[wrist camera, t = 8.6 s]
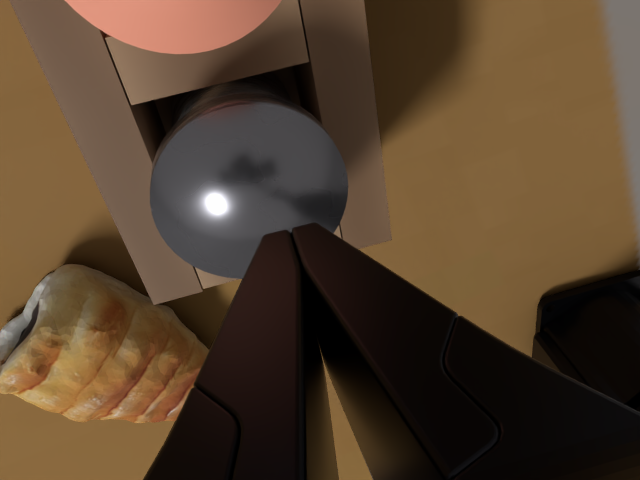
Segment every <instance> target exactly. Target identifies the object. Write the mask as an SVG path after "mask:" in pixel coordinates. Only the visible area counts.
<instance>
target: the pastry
mask: <svg viewBox="0 0 640 480" xmlns="http://www.w3.org/2000/svg"><path fill="white" fill-rule="evenodd" d="M208 352H209V350H208V349H207V347H206V346H205V345H204V344H203V343H201V342H200V341H199V340H198V339H197V337H196V335H195V334H194V333H193V332H192V331H190V330H189V329H188V328H187V327H186V326H185V325H184V324H183V323H182V322H181V321H180V320H179V319H178V317H177V316H176V315H175V313H174V311H173V310H172V309H171V308H169V307H168V306H165V305H159V304H156V305H154V304H153V302H152V300H151V299H150V298H149V297H147V296H145V295H143V294H141V293H139V292H137V291H136V290H134V289H132V288H131V287H129V286H128V285H127V284H126V283H124V282H121V281H119V280H117V279H115V278H113V277H111V276H109V275H106V274H104V273H103V272H101V271H98V270H95V269H92V268H89V267H86V266H85V265H78V264H66V265H63V266H60V267H59V268H58V269H57V270H56V271H55V272H54V273H50V274H48V275H47V276H46V277H45V278H44V279H43V280H42V281H41V282H40V283H39V284H38V285H37V286H36V288H35V290H34V292H33V294H32V296H31V298H30V299H29V300H28V302H27V304H26V306H25V308H24V311H23V313H22V314H20V315H19V316H17V317H16V318H14V319H12V320H11V321H9V322H8V323H7V324H6V325H5V326H4V327H3V328H2V330H1V332H0V393H2V394H9V393H12V394H14V395H16V396H18V397H20V398H22V399H23V400H25V401H27V402H29V403H31V404H34V405H36V406H37V407H39V408H42V409H44V410H47V411H50V412H57V413H61V414H62V415H64V416H66V417H68V418H69V419H71V420H74V421H77V422H86V421H89V420H92V419H99V420H106V419H115V420H116V419H124V420H128V421H131V422H134V423H144V422H160V421H167V420H170V421H176V419H177V417H178V415H179V413H180V411H181V409H182V407H183V405H184V403H185V400H186V398H187V396H188V394H189V392H190V390H191V388H193V387H194V386H193V384H194V382H195V380H196V377H197V375H198V373H199V371H200V369H201V367H202V365H203V362H204V360H205V358H206V356H207V354H208Z"/></svg>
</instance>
